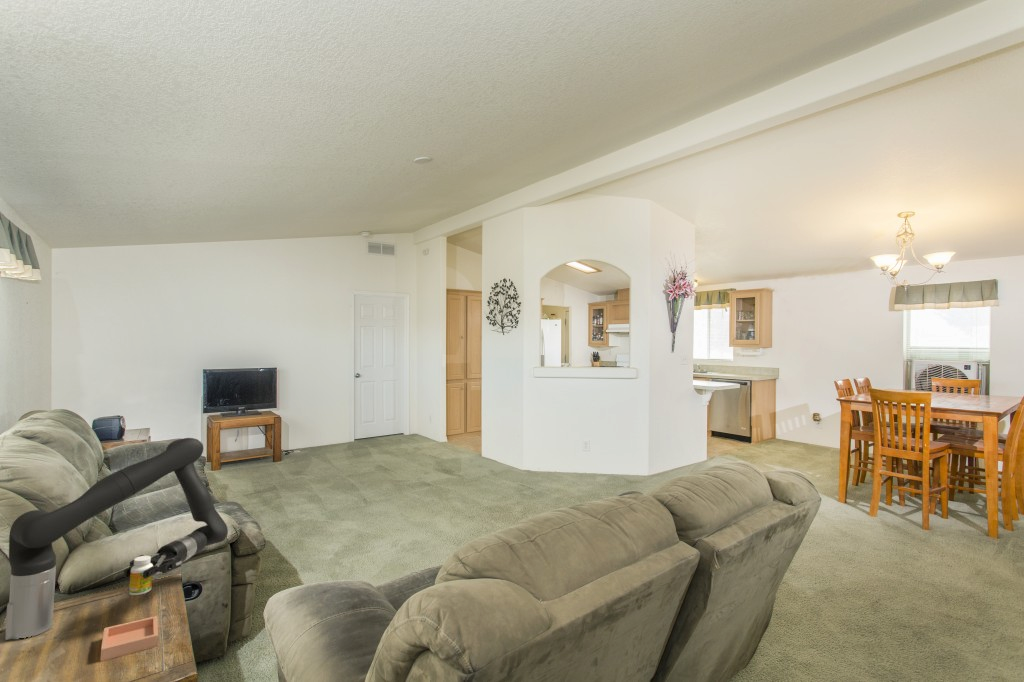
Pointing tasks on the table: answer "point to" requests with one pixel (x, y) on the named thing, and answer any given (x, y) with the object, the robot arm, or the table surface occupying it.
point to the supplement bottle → (140, 576)
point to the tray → (129, 638)
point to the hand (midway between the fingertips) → (134, 574)
